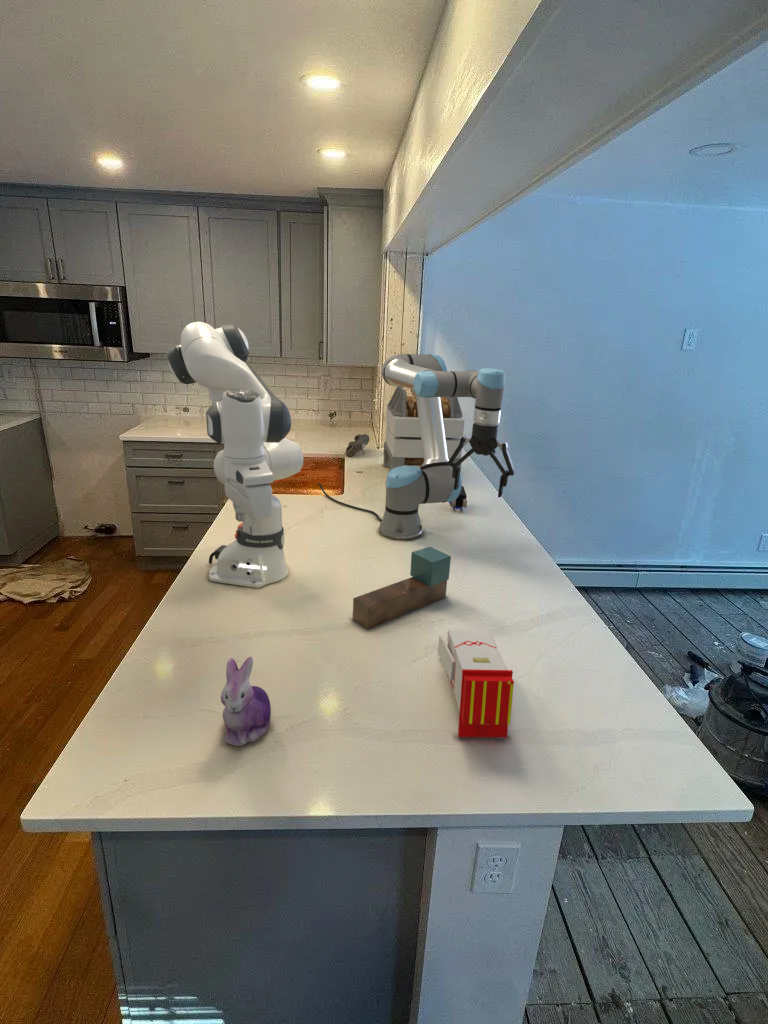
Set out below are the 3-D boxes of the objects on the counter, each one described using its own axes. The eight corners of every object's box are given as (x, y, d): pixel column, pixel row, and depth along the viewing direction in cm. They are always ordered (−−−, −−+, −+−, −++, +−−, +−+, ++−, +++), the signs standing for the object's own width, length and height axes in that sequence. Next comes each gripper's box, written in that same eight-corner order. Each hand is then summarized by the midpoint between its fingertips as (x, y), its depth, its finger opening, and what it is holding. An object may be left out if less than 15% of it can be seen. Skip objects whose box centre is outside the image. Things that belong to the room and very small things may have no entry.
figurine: (228, 756, 99) (223, 684, 94) (215, 719, 107) (210, 651, 102) (280, 740, 103) (279, 670, 98) (264, 706, 111) (262, 640, 106)
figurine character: (467, 516, 223) (461, 500, 237) (469, 499, 220) (463, 483, 233) (450, 516, 223) (446, 499, 236) (452, 498, 220) (447, 483, 233)
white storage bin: (382, 463, 289) (386, 382, 275) (445, 464, 293) (451, 384, 279) (390, 482, 257) (394, 392, 243) (460, 483, 261) (468, 394, 247)
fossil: (345, 440, 316) (366, 424, 311) (356, 453, 319) (377, 438, 314) (339, 453, 297) (361, 437, 292) (350, 467, 300) (373, 452, 295)
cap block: (430, 586, 150) (432, 562, 148) (410, 575, 156) (411, 552, 153) (448, 579, 154) (451, 556, 152) (428, 569, 160) (429, 546, 158)
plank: (367, 629, 140) (368, 607, 138) (352, 619, 144) (353, 598, 142) (445, 597, 157) (447, 577, 155) (430, 588, 162) (431, 569, 160)
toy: (488, 613, 130) (523, 677, 101) (484, 667, 133) (517, 744, 104) (435, 612, 130) (455, 676, 101) (432, 666, 133) (451, 743, 103)
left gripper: (215, 457, 128) (219, 515, 133) (246, 480, 112) (249, 545, 117) (243, 455, 131) (245, 511, 136) (276, 477, 115) (278, 540, 120)
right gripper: (441, 420, 166) (435, 488, 174) (527, 431, 158) (516, 503, 165) (448, 415, 172) (442, 482, 180) (531, 426, 164) (520, 495, 172)
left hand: (247, 527), depth 126 cm, fingers open, 8 cm apart
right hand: (477, 492), depth 173 cm, fingers open, 13 cm apart
